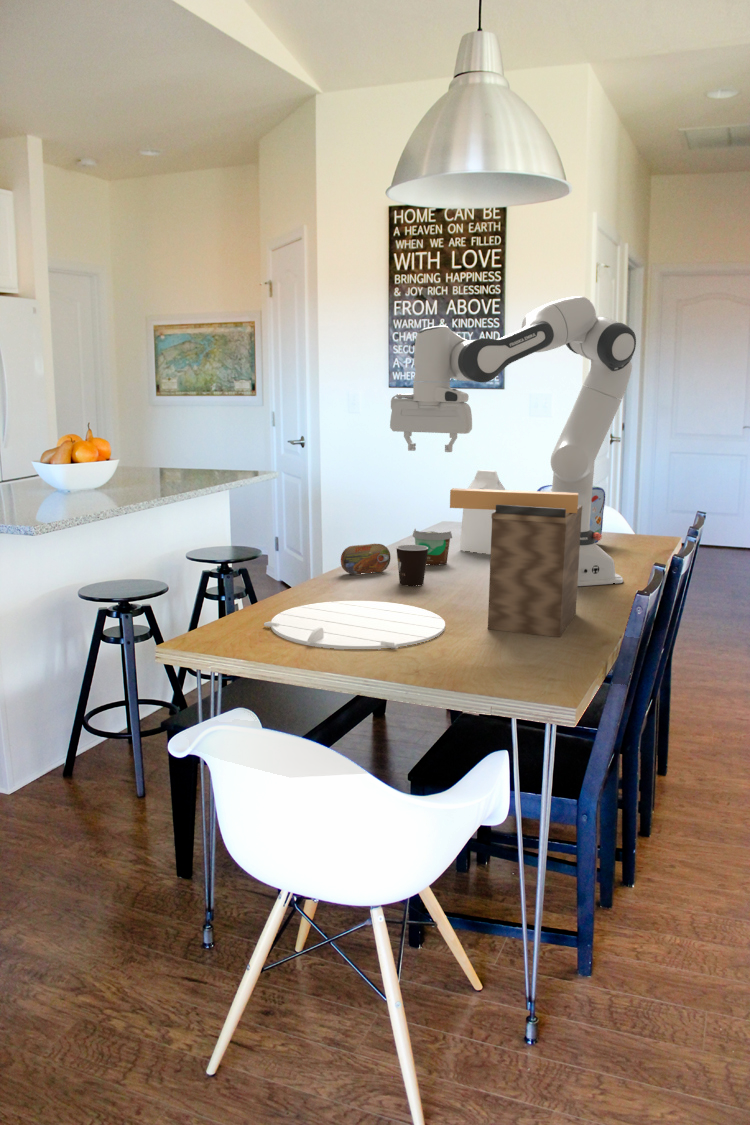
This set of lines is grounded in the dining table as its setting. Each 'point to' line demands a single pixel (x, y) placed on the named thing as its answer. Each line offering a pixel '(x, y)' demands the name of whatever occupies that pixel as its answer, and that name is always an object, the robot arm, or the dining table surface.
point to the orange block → (511, 499)
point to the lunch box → (596, 507)
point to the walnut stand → (533, 569)
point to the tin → (365, 558)
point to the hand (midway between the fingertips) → (430, 451)
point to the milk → (479, 516)
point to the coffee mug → (411, 564)
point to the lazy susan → (357, 625)
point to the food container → (434, 545)
